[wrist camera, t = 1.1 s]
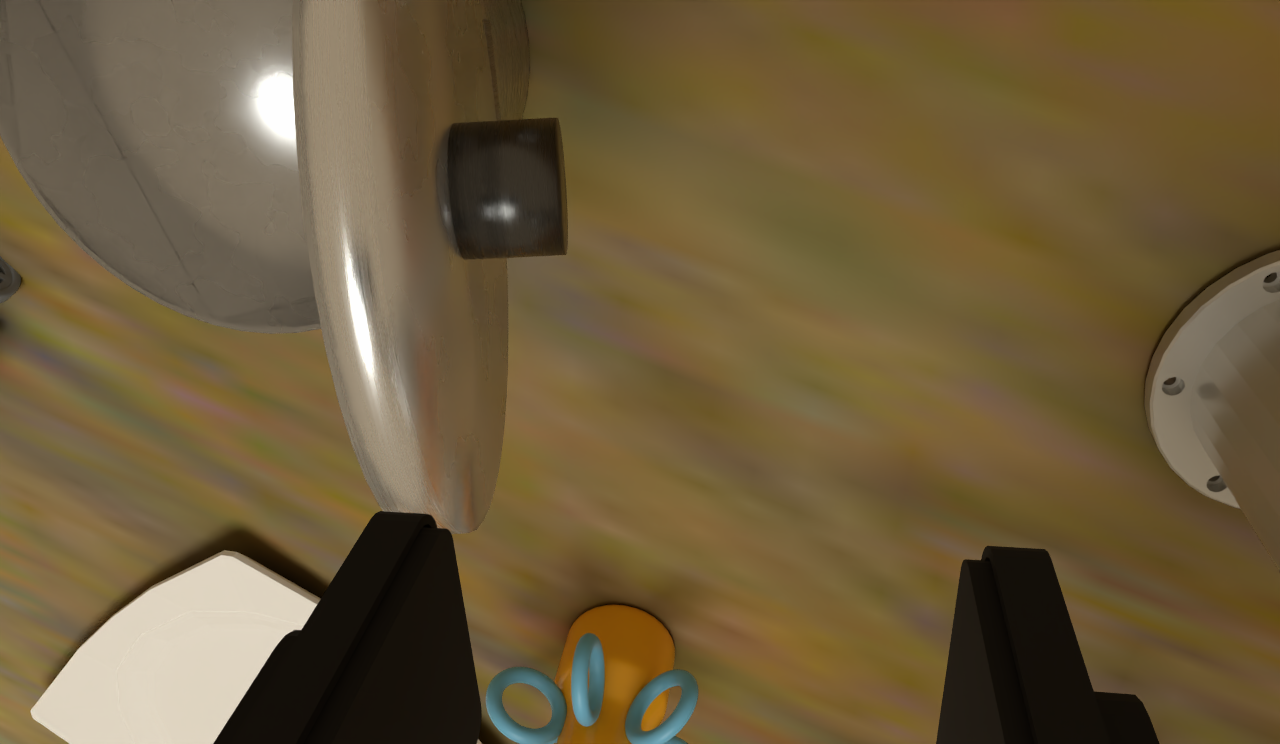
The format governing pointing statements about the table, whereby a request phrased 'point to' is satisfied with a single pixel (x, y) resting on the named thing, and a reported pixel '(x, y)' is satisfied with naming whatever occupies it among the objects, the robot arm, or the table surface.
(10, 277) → the toy car
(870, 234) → the table surface
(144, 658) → the plate
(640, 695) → the orange blue upright piece
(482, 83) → the lid
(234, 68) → the pot
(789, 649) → the table surface
